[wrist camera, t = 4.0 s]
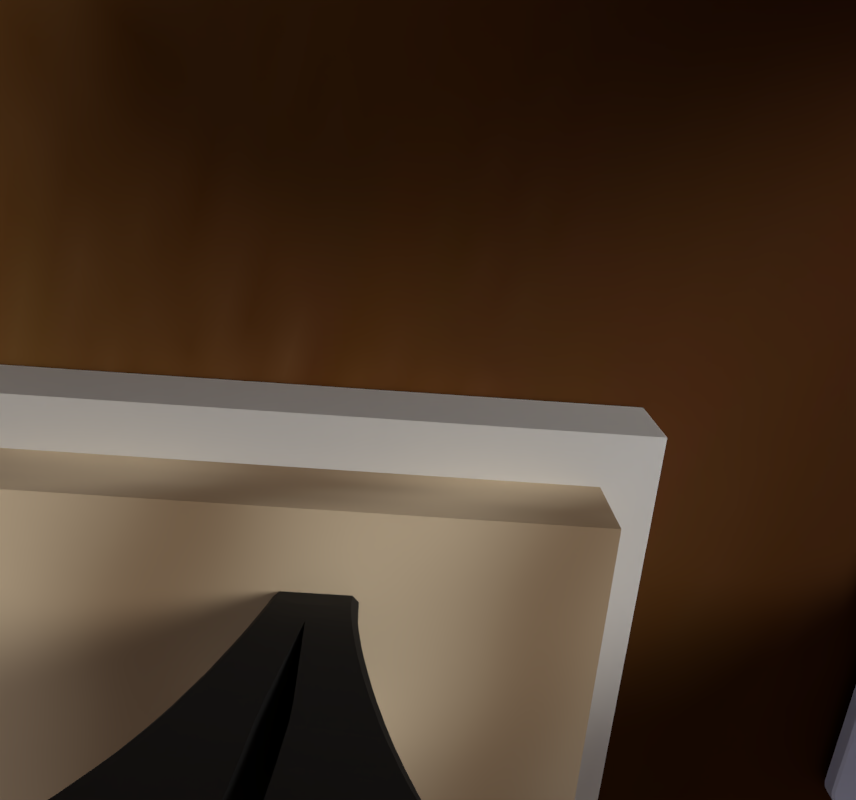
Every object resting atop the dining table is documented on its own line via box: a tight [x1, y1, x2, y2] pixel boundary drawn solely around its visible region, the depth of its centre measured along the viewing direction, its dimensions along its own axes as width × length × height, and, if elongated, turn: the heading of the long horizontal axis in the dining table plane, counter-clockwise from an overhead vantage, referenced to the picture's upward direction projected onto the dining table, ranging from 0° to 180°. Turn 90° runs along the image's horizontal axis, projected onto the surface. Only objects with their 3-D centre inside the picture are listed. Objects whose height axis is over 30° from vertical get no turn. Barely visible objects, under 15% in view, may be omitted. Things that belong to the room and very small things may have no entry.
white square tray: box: [0, 365, 667, 800], centre depth 15 cm, size 16×17×3 cm
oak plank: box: [0, 448, 621, 800], centre depth 13 cm, size 14×9×2 cm, turn 86°
